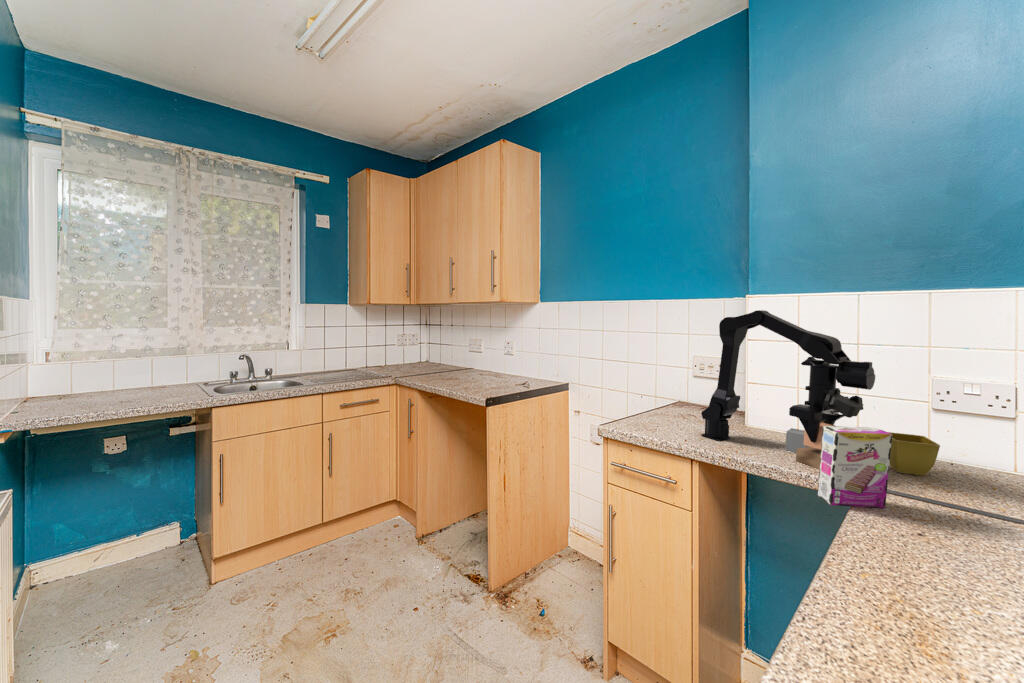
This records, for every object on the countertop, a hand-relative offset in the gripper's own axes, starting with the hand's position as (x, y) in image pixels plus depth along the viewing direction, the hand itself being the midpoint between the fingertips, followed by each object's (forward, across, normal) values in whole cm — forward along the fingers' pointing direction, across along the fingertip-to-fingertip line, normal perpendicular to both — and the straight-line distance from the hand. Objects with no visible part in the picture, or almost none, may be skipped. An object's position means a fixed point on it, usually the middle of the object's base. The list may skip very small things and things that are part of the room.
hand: (818, 440), depth 113 cm
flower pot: (+7, +16, -13) cm, 22 cm away
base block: (+7, 0, 0) cm, 7 cm away
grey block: (+7, +7, +9) cm, 13 cm away
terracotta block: (+2, 0, 0) cm, 2 cm away
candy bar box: (+7, -18, -16) cm, 25 cm away
